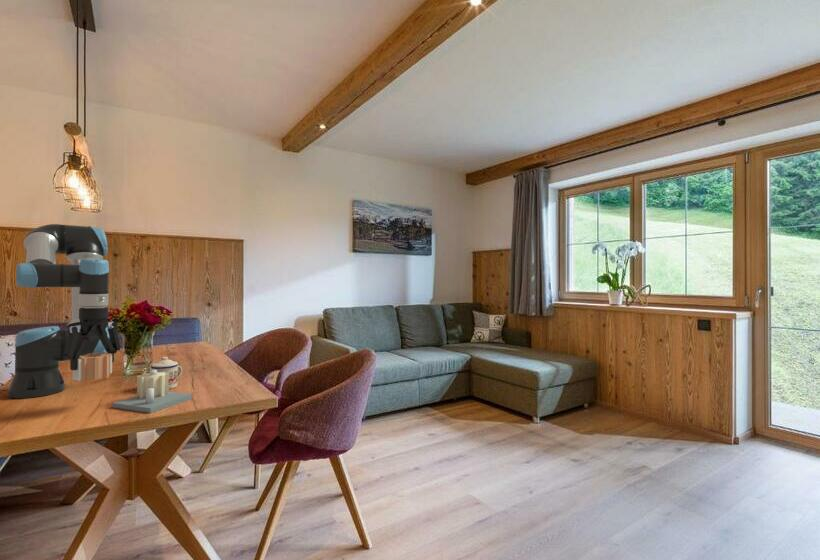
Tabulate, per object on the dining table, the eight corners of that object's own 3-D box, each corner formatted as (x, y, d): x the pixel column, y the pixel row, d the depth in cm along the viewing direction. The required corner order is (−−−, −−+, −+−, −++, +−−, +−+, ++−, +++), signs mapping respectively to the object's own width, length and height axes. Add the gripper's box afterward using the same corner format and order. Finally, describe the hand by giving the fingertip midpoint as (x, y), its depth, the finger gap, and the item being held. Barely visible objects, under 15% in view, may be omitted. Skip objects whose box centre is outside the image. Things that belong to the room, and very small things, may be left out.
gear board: (111, 407, 130) (111, 376, 130) (155, 393, 145) (156, 366, 145) (150, 413, 125) (150, 381, 125) (192, 398, 141) (192, 370, 141)
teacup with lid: (162, 391, 148) (162, 360, 148) (144, 389, 151) (144, 358, 151) (189, 384, 160) (190, 354, 159) (172, 381, 163) (173, 352, 162)
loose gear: (68, 379, 127) (68, 357, 127) (97, 372, 136) (97, 352, 136) (88, 382, 125) (88, 359, 125) (116, 375, 133) (116, 354, 133)
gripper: (64, 310, 118) (63, 386, 119) (134, 305, 139) (133, 369, 139) (47, 308, 121) (46, 383, 121) (118, 304, 141) (117, 367, 142)
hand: (92, 376), depth 130 cm, fingers closed on loose gear, 9 cm apart
